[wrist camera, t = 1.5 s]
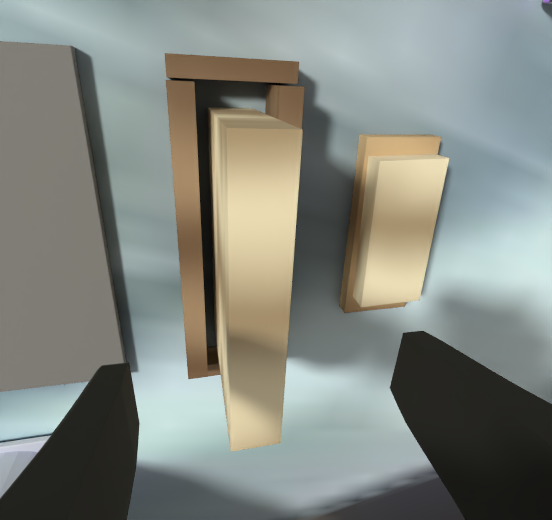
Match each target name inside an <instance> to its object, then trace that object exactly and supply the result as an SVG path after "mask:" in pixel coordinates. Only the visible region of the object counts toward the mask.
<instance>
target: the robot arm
mask: <svg viewBox="0 0 552 520" xmlns="http://www.w3.org/2000/svg"><path fill="white" fill-rule="evenodd" d="M390 389H391V391H392V394H393V396H394V398H395V401H396V403H397V405H398V407H399V409H400V411H401V414H402V416H403V418H404V420H405V422H406V424H407V425H408V427H409V429H410V430H411V432H412V434H413V435H414V437H415V439H416V440H417V442H418V443H419V445H420V447H421V448H422V450H423V452H424V453H425V455H426V456H427V458H428V459H429V461H430V463H431V464H432V466H433V467H434V469H435V471H436V472H437V474H438V475H439V477H440V479H441V480H442V482H443V483H444V485H445V487H446V488H447V490H448V491H449V493H450V495H451V496H452V498H453V499H454V501H455V503H456V504H457V506H458V508H459V509H460V511H461V513H462V514H463V516H464V518H465V520H552V404H550V403H548V402H546V401H545V400H543V399H541V398H539V397H537V396H535V395H533V394H532V393H530V392H528V391H526V390H524V389H523V388H521V387H519V386H517V385H515V384H514V383H512V382H510V381H508V380H507V379H505V378H503V377H502V376H500V375H498V374H496V373H495V372H493V371H491V370H490V369H488V368H486V367H485V366H483V365H481V364H480V363H478V362H476V361H474V360H473V359H471V358H469V357H468V356H466V355H464V354H463V353H461V352H459V351H458V350H456V349H454V348H453V347H451V346H449V345H448V344H446V343H444V342H443V341H441V340H439V339H437V338H436V337H434V336H432V335H430V334H428V333H426V332H424V331H417V332H407V333H403V336H402V340H401V344H400V349H399V353H398V357H397V361H396V365H395V369H394V373H393V377H392V381H391V386H390ZM138 436H139V418H138V412H137V406H136V401H135V395H134V389H133V383H132V377H131V371H130V365H129V363H120V364H110V365H102V366H101V367H100V368H99V369H98V370H97V371H96V372H95V374H94V375H93V377H92V378H91V380H90V381H89V383H88V384H87V386H86V387H85V389H84V390H83V392H82V393H81V395H80V396H79V398H78V399H77V400H76V402H75V403H74V405H73V406H72V407H71V409H70V410H69V412H68V413H67V414H66V416H65V417H64V419H63V420H62V421H61V423H60V424H59V425H58V426H57V428H56V429H55V430H54V432H53V433H52V434H51V435H50V436H43V437H36V438H29V439H23V440H16V441H9V442H2V443H0V520H127V515H128V509H129V504H130V498H131V493H132V487H133V482H134V476H135V470H136V462H137V450H138Z"/></svg>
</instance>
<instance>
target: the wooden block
mask: <svg viewBox="0 0 552 520" xmlns="http://www.w3.org/2000/svg"><path fill="white" fill-rule="evenodd" d="M302 133H303V129H300V128H298V127H295V126H293V125H291V124H288V123H286V122H283V121H281V120H279V119H276V118H274V117H271V116H269V115H267V114H264V113H262V112H259V111H257V110H254V109H248V108H217V107H208V135H209V166H210V196H211V226H212V257H213V287H214V318H215V335H216V343H217V350H218V358H219V365H220V373H221V380H222V388H223V396H224V403H225V411H226V418H227V426H228V433H229V441H230V448H231V451H237V450H243V449H249V448H255V447H261V446H266V445H272V444H278V443H281V430H282V416H283V402H284V388H285V373H286V359H287V345H288V331H289V317H290V303H291V289H292V275H293V260H294V246H295V232H296V218H297V204H298V190H299V176H300V162H301V147H302Z"/></svg>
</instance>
